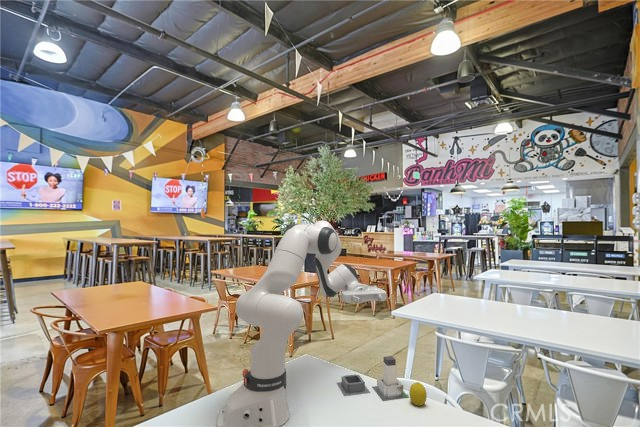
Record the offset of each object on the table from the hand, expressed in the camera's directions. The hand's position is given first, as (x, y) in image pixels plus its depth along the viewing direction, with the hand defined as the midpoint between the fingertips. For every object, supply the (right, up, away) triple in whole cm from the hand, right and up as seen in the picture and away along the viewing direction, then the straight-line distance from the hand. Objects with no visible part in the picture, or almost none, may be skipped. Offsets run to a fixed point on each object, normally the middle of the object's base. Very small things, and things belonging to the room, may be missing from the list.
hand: (370, 299), depth 133 cm
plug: (+4, -28, -19) cm, 34 cm away
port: (+4, -29, -19) cm, 35 cm away
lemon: (+12, -29, -26) cm, 41 cm away
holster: (-9, -29, -16) cm, 34 cm away
